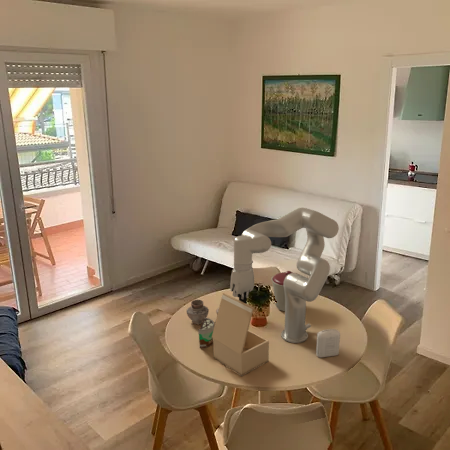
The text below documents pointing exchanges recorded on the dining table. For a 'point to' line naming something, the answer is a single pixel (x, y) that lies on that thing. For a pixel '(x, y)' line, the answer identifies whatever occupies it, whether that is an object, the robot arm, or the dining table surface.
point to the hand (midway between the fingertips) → (242, 306)
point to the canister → (280, 289)
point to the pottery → (198, 311)
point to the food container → (206, 333)
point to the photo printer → (328, 343)
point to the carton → (243, 354)
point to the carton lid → (232, 323)
